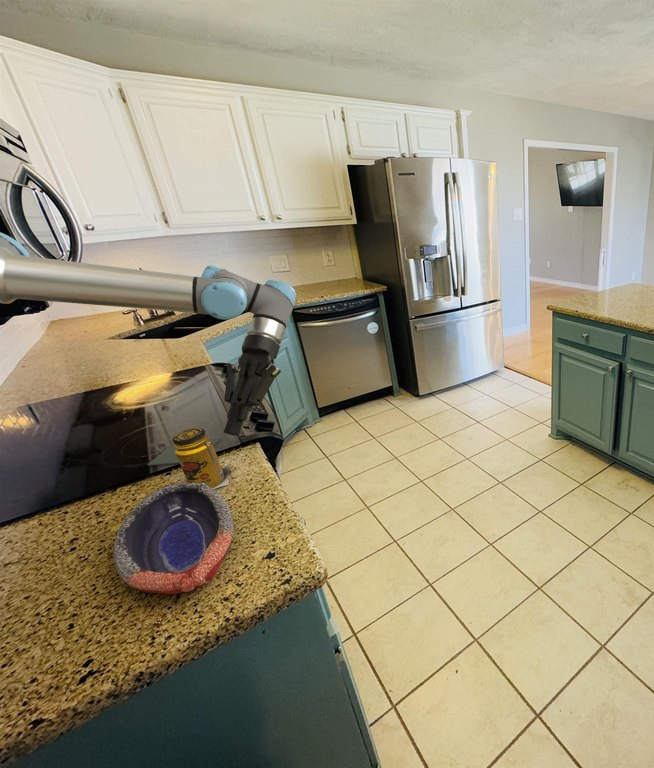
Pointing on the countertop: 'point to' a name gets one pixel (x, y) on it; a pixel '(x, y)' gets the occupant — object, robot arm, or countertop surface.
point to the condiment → (200, 459)
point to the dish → (174, 539)
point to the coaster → (170, 456)
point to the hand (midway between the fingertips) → (231, 434)
